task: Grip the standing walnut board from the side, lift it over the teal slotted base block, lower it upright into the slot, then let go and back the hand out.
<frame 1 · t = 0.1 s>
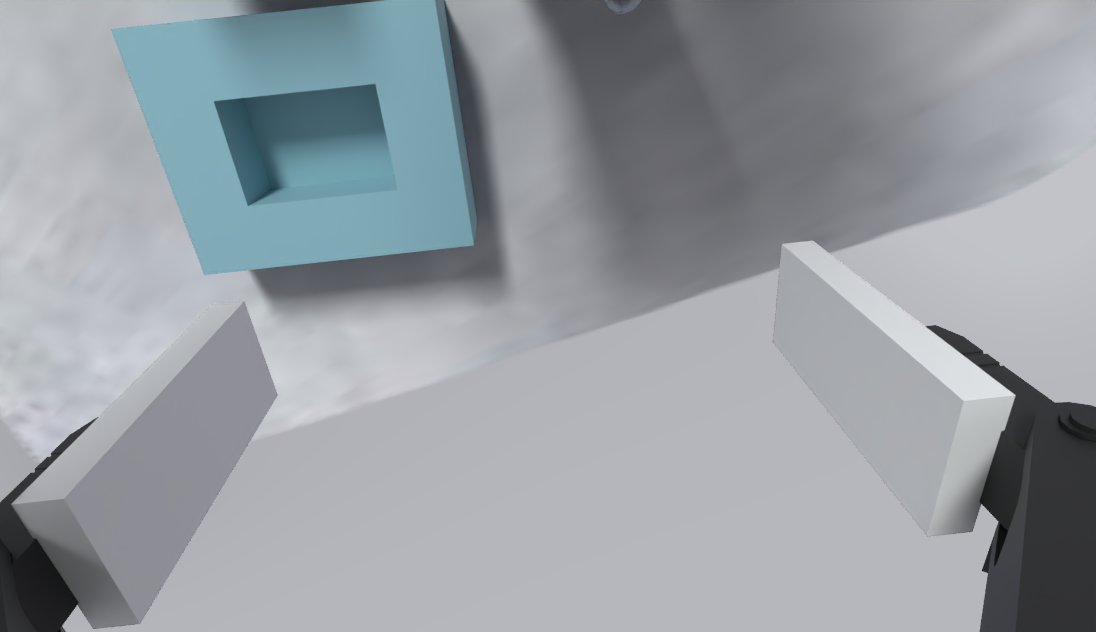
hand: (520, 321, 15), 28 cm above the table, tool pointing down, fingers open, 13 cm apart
slotted base: (331, 132, 39), on the table
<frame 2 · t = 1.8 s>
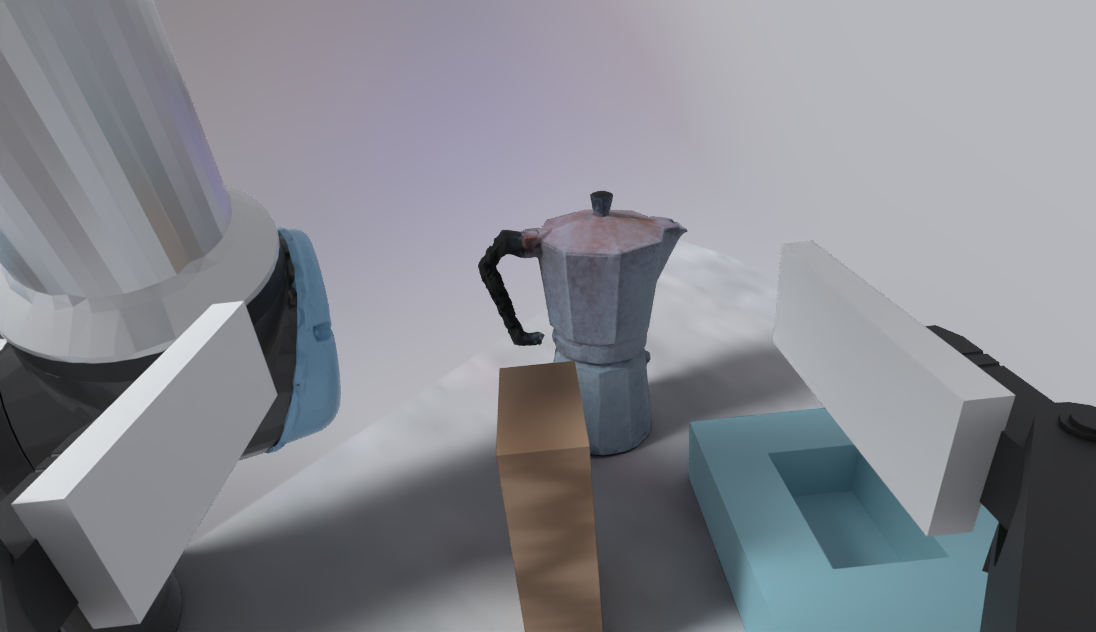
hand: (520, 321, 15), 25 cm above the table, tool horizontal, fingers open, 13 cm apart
walnut board: (563, 610, 36), on the table
moka pot: (596, 428, 51), on the table
slotted base: (837, 559, 37), on the table
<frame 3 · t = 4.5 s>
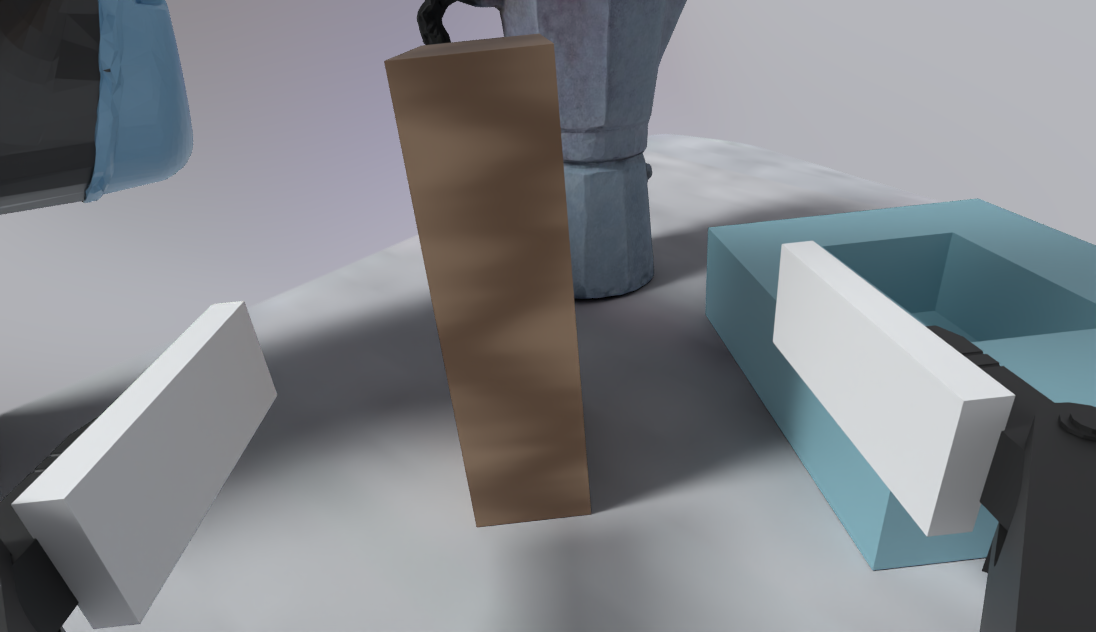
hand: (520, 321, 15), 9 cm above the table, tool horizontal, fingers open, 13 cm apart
walnut board: (530, 454, 24), on the table
moka pot: (582, 279, 39), on the table
slotted base: (927, 386, 26), on the table
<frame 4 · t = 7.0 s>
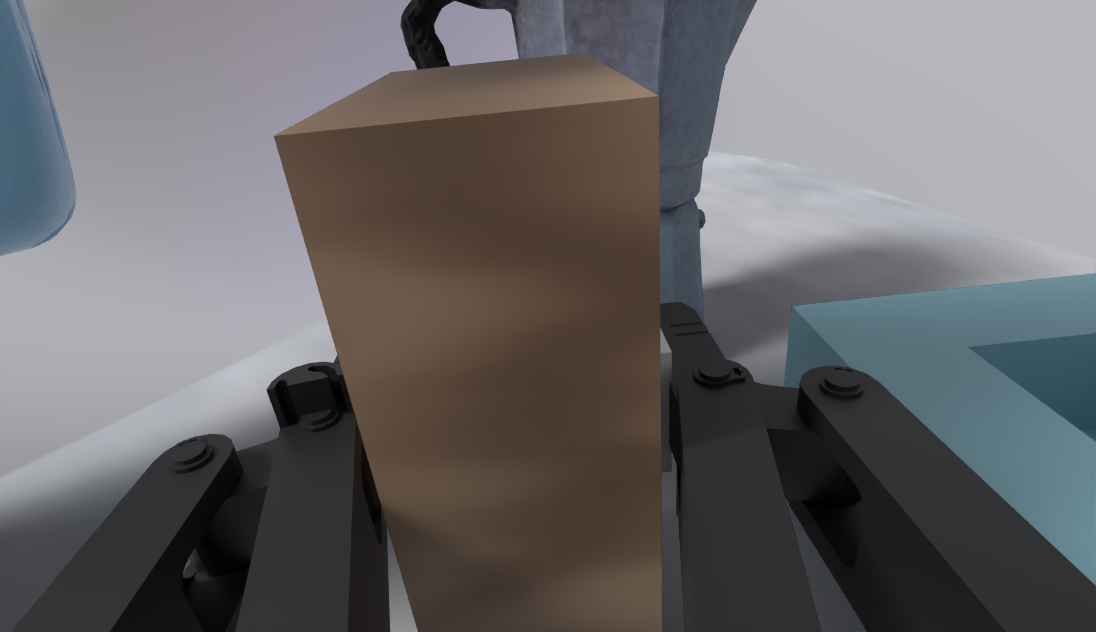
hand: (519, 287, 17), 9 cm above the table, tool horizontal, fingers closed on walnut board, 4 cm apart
moka pot: (612, 349, 31), on the table
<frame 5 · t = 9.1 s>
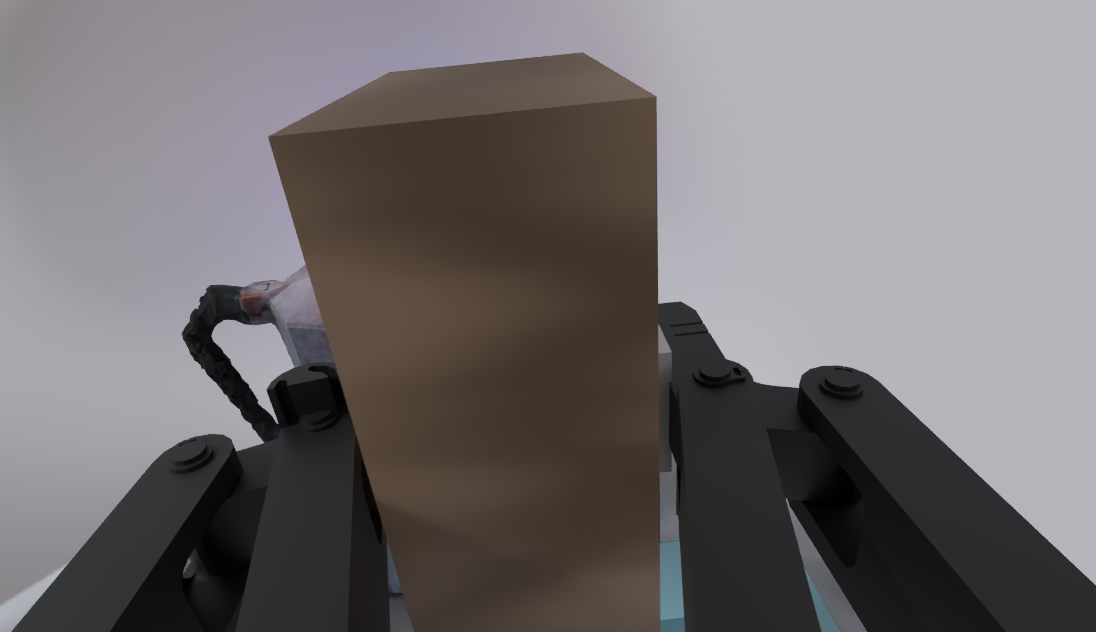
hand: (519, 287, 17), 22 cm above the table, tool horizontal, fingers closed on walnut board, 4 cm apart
moka pot: (408, 541, 37), on the table
when the fingers open (11 cm above the table, at t = 11.5 s): walnut board drops 1 cm, resting on slotted base.
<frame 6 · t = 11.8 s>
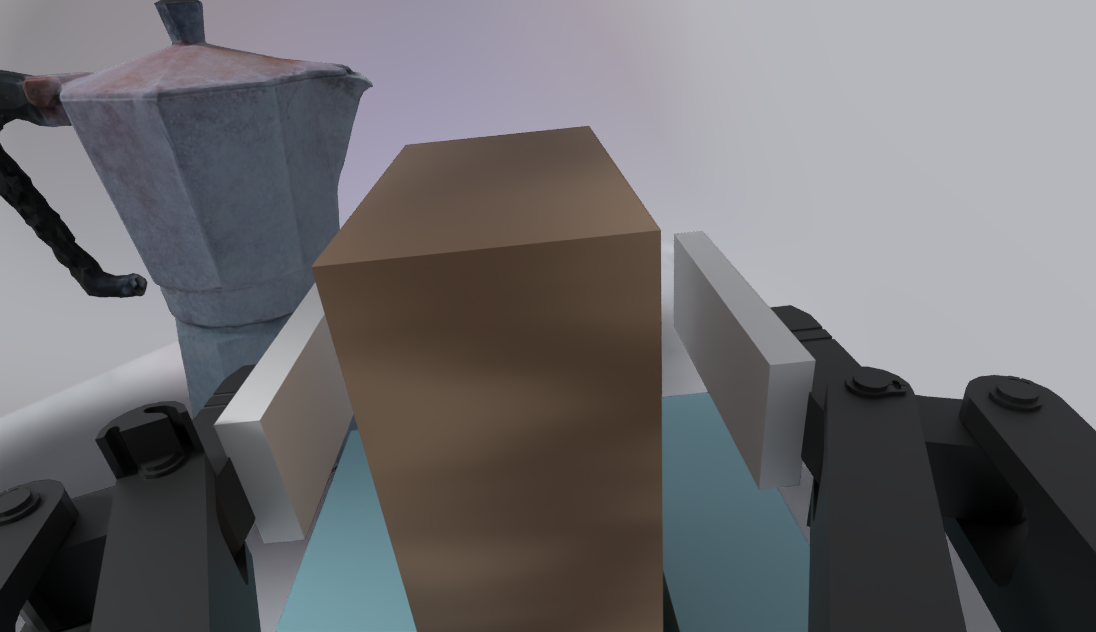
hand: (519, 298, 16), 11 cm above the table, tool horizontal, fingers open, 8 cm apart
moka pot: (290, 440, 31), on the table
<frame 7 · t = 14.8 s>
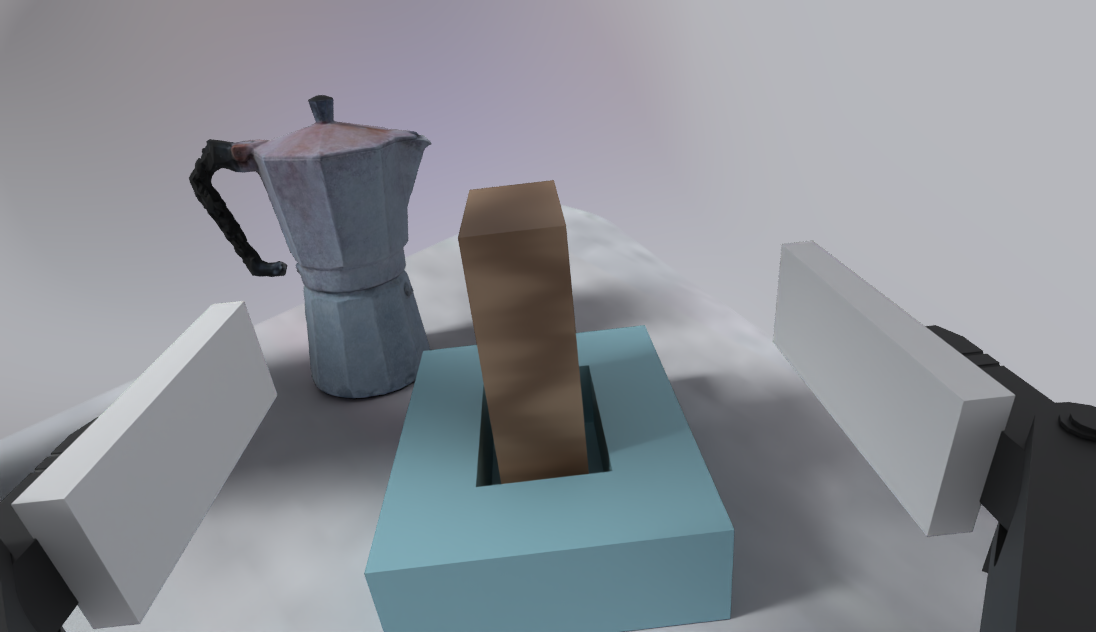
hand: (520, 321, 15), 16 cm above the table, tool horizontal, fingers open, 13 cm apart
walnut board: (548, 480, 32), point 1 cm above the table, touching slotted base
moka pot: (370, 374, 46), on the table
slotted base: (549, 493, 33), on the table
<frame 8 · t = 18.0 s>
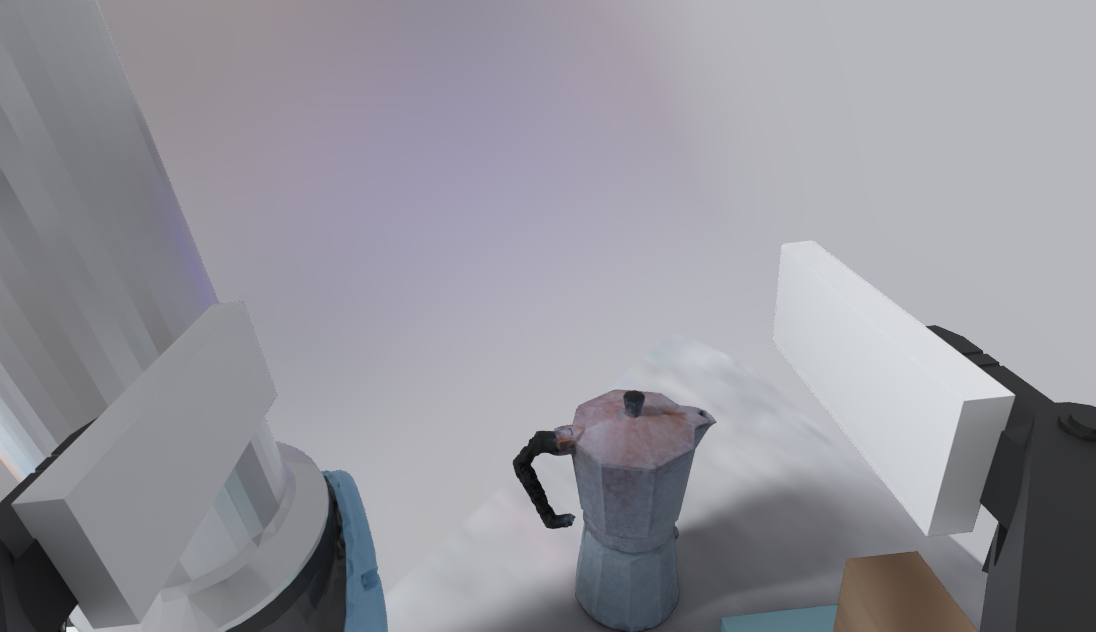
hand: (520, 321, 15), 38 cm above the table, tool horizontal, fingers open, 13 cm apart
moka pot: (623, 592, 52), on the table
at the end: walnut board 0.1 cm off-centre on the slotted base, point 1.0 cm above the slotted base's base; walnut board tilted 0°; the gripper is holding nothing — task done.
